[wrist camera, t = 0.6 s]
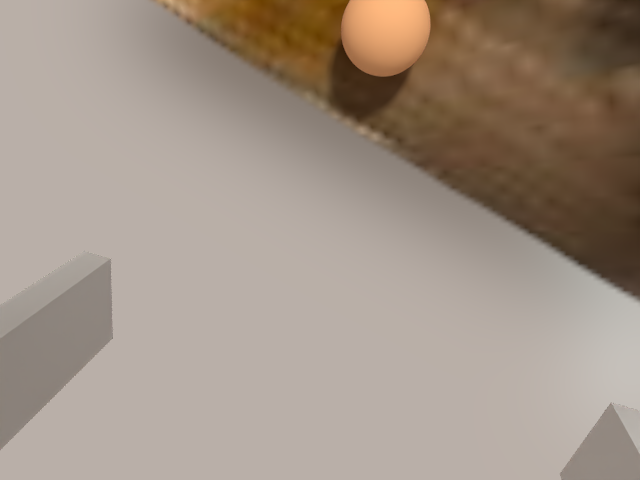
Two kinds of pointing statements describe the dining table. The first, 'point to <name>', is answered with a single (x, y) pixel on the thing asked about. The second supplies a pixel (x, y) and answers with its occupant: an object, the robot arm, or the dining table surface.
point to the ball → (385, 34)
